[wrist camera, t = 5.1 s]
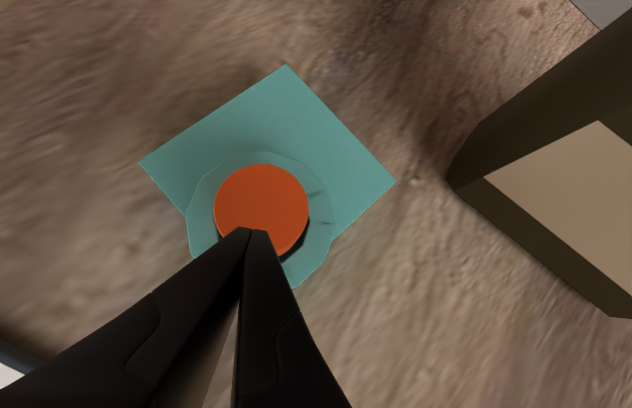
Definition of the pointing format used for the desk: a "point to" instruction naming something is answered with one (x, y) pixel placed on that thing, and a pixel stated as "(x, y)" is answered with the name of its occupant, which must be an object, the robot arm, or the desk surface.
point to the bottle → (564, 168)
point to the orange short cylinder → (263, 204)
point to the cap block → (273, 149)
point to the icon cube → (603, 10)
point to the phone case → (15, 363)
